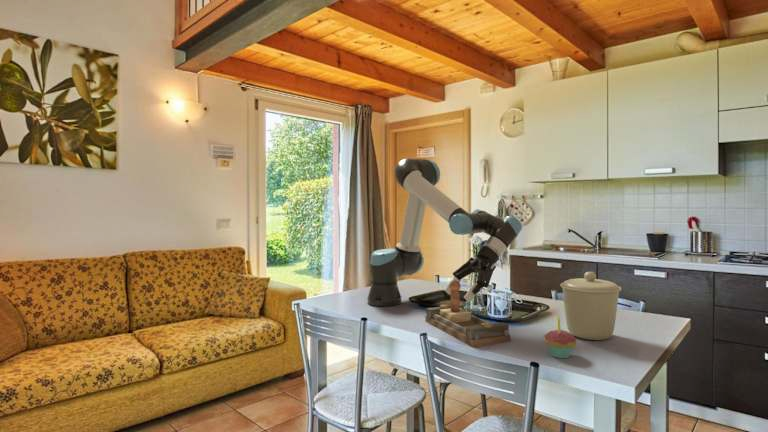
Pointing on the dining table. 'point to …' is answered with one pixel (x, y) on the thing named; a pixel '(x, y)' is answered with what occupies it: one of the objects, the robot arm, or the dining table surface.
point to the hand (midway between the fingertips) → (456, 296)
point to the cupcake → (560, 342)
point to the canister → (590, 306)
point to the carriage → (455, 306)
